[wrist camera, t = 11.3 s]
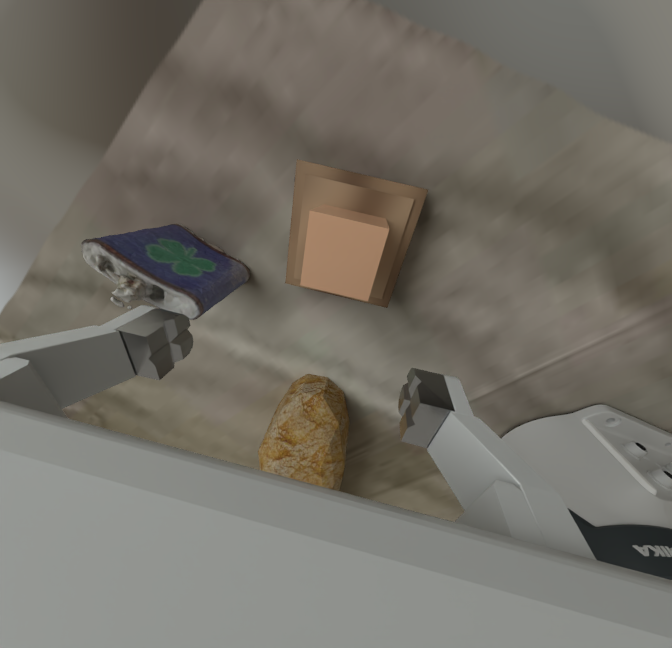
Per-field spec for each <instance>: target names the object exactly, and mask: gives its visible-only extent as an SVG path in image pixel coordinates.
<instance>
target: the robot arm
mask: <svg viewBox="0 0 672 648" xmlns="http://www.w3.org/2000/svg"><path fill="white" fill-rule="evenodd" d="M189 327H190V321H189V317H187V316H186V315H184V314H180V313H176V312H172V311H168V310H164V309H160V308H156V307H152V306H148V305H141V306H139V307H137V308H135V309H133V310H131V311H129V312H127V313H125V314H123V315H121V316H119V317H117V318H115V319H113V320H111V321H109V322H107V323H105V324H103V325H101V326H90V327H84V328H79V329H74V330H69V331H64V332H59V333H54V334H48V335H43V336H38V337H33V338H28V339H23V340H18V341H12V342H7V343H2V344H0V648H672V434H671V433H669V432H666V431H664V430H662V429H660V428H657V427H655V426H653V425H651V424H648V423H646V422H644V421H642V420H639V419H637V418H635V417H633V416H630V415H628V414H626V413H623V412H621V411H619V410H617V409H614V408H612V407H610V406H607V405H595V406H591V407H588V408H585V409H582V410H579V411H577V412H574V413H571V414H566V415H559V416H552V417H546V418H541V419H537V420H534V421H531V422H528V423H525V424H523V425H521V426H519V427H517V428H515V429H513V430H511V431H510V432H508V433H507V434H506V435H505V436H503V437H502V438H500V437H499V436H498V435H496V434H495V433H494V432H493V431H492V430H491V429H490V428H489V427H488V426H487V425H486V424H485V423H484V422H483V421H482V420H481V419H480V418H477V417H474V415H473V413H472V410H471V408H470V405H469V403H468V400H467V398H466V395H465V392H464V390H463V387H462V385H461V382H460V380H459V379H458V378H457V377H454V376H449V375H444V374H437V373H433V372H428V371H424V370H420V369H415V368H411V369H410V371H409V373H408V375H407V380H408V383H407V384H405V385H403V387H402V390H401V392H400V397H399V413H400V414H401V416H402V419H401V421H400V435H401V441H403V442H407V443H410V444H414V445H417V446H421V447H424V448H427V451H428V452H429V454H430V455H431V457H432V459H433V460H434V462H435V464H436V465H437V467H438V468H439V470H440V472H441V473H442V475H443V476H444V478H445V480H446V481H447V483H448V485H449V486H450V488H451V489H452V491H453V493H454V494H455V496H456V498H457V499H458V501H459V502H460V504H461V506H462V507H463V509H464V510H465V512H464V513H463V514H462V515H461V516H460V517H459V518H458V519H457V520H456V521H455V522H452V521H448V520H445V519H441V518H437V517H433V516H430V515H426V514H422V513H418V512H415V511H411V510H407V509H403V508H400V507H396V506H392V505H389V504H385V503H381V502H377V501H374V500H370V499H366V498H362V497H359V496H355V495H351V494H348V493H344V492H340V491H336V490H333V489H329V488H325V487H321V486H318V485H314V484H310V483H307V482H303V481H299V480H295V479H292V478H288V477H284V476H280V475H277V474H273V473H269V472H266V471H262V470H258V469H254V468H251V467H247V466H243V465H239V464H236V463H232V462H228V461H224V460H221V459H217V458H213V457H209V456H206V455H202V454H198V453H194V452H191V451H187V450H183V449H179V448H176V447H172V446H168V445H164V444H161V443H157V442H153V441H149V440H146V439H142V438H138V437H135V436H131V435H127V434H123V433H120V432H116V431H112V430H108V429H105V428H101V427H97V426H94V425H90V424H86V423H82V422H79V421H75V420H71V419H68V418H67V416H66V415H65V413H64V412H63V410H62V409H63V408H65V407H67V406H69V405H72V404H74V403H76V402H78V401H81V400H83V399H85V398H88V397H90V396H92V395H94V394H97V393H99V392H101V391H103V390H106V389H108V388H110V387H113V386H115V385H117V384H119V383H122V382H124V381H126V380H128V379H131V378H133V377H135V376H136V375H138V376H143V377H147V378H152V379H156V380H160V379H162V378H163V377H164V376H165V375H166V374H167V373H168V372H170V371H171V370H172V369H173V368H174V364H175V362H177V361H180V360H183V359H184V358H185V357H186V356H187V355H188V354H189V353H190V351H191V349H192V347H193V336H192V334H191V333H190V332H189V331H188V328H189Z"/></svg>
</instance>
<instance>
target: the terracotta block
mask: <svg viewBox="0 0 672 648" xmlns="http://www.w3.org/2000/svg"><path fill="white" fill-rule="evenodd" d="M388 232H389V226H388V223H387V220H386V219H385V218H381V217H376V216H372V215H368V214H364V213H359V212H355V211H351V210H347V209H342V208H338V207H334V206H330V205H325V204H323V205H321V206H319V207H316V208H314V209H312V210H310V212H309V220H308V227H307V235H306V243H305V251H304V259H303V267H302V274H301V282H300V285H301V286H305V287H309V288H314V289H318V290H322V291H326V292H330V293H334V294H339V295H343V296H347V297H351V298H355V299H359V300H364V301H368V299H369V296H370V293H371V289H372V286H373V283H374V279H375V276H376V272H377V269H378V266H379V262H380V259H381V256H382V252H383V249H384V246H385V242H386V239H387V235H388Z"/></svg>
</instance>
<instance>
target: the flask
mask: <svg viewBox="0 0 672 648" xmlns="http://www.w3.org/2000/svg"><path fill="white" fill-rule="evenodd" d="M81 246H82V253H83V258H84V259H85V261H86V263H88V264H89V265H90V266H91V267H93V268H94V269H95V270H96V271H98V272H99V273H101V274H103V275H104V276H106V277H107V278H109V279H110V280H111V281H112V282H114V283H115V284H117V287H118V288H117V289H116V291H114V292H112V293H113V294H114V295H115V296H117V297H118V298H121V299H122V300H123V301H125V302H131V301H133V300H144V301H146V302H148V303H151V304H153V305H155V306H156V307H158V308H161V309H164V310H168V311H172V312H176V313H180V314H184V315H186V316H187V317H189V319H191V320H194V319H197V318H198V317H200V316H201V315H202V314H204V313H205V312H206V311H208V310H209V309H210V308H211V307H213V306H214V305H215V304H217V303H218V302H220V301H221V300H222V299H224V298H225V297H226V296H228V295H229V294H230V293H232V292H233V291H234V290H235V289H237V288H238V287H239V286H241V285H242V284H244V283H246V282H247V280H248V279H249V275H250V270H249V269H248V268H247V267H246V266H245V264H244V263H242V262H241V261H240V260H239V259H237V258H235V259H234V258H232V257H231V256H229V255H227V253H225V252H224V251H223V250H221V249H220V248H219V247H217V246H215V245H213V244H212V245H211V244H207V243H206V242H205V241H204V238H203V239H202V238H199V237H197V236H195V234H194V233H193V231H192V232H191V231H190V230H188V229H187V228H186V227H184V226H183V225H181V224H172V225H168V226H163V227H159V228H151V229H143V230H138V231H136V232H129V233H125V234H119V235H112V236H111V235H109V236H106V237H101V238H94V239H86V240H84V241H83V242H82V245H81ZM111 301H113V302H114V303H115V304H116V305H118V306H119V307H124V304H123V302H121V301H119V300H117V299H115V298H114V297H112V298H111ZM127 308H129V309H132V308H133V307H132V306H128V307H127Z"/></svg>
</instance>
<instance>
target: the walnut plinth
mask: <svg viewBox="0 0 672 648" xmlns="http://www.w3.org/2000/svg"><path fill="white" fill-rule="evenodd" d="M427 192H428V190H427V189H422V188H418V187H414V186H410V185H405V184H401V183H397V182H392V181H388V180H384V179H379V178H375V177H371V176H366V175H362V174H358V173H353V172H349V171H345V170H340V169H336V168H332V167H328V166H323V165H319V164H315V163H310V162H306V161H302V160H297V164H296V175H295V186H294V196H293V207H292V218H291V229H290V239H289V250H288V261H287V272H286V282H285V283H286V284H291V285H295V286H299V287H303V288H307V289H311V290H316V291H320V292H324V293H328V294H332V295H336V296H341V297H345V298H349V299H353V300H357V301H361V302H366V303H370V304H374V305H378V306H382V307H386V308H387V307H388V304H389V301H390V298H391V296H392V293H393V290H394V287H395V284H396V281H397V278H398V275H399V273H400V270H401V267H402V264H403V261H404V258H405V255H406V253H407V250H408V247H409V244H410V241H411V238H412V235H413V232H414V230H415V227H416V224H417V221H418V218H419V215H420V212H421V210H422V207H423V204H424V201H425V198H426V195H427ZM323 204H325V205H330V206H334V207H338V208H342V209H347V210H351V211H355V212H359V213H364V214H368V215H372V216H376V217H381V218H385V219H386V220H387V223H388V226H389V232H388V235H387V239H386V242H385V246H384V249H383V252H382V256H381V259H380V262H379V266H378V269H377V272H376V276H375V279H374V283H373V286H372V289H371V293H370V296H369V299H368V301H364V300H359V299H355V298H351V297H347V296H343V295H339V294H334V293H330V292H326V291H322V290H318V289H314V288H309V287H305V286H301V285H300V282H301V274H302V267H303V259H304V251H305V243H306V235H307V227H308V220H309V212H310V210H312V209H314V208H316V207H319V206H321V205H323Z"/></svg>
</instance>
